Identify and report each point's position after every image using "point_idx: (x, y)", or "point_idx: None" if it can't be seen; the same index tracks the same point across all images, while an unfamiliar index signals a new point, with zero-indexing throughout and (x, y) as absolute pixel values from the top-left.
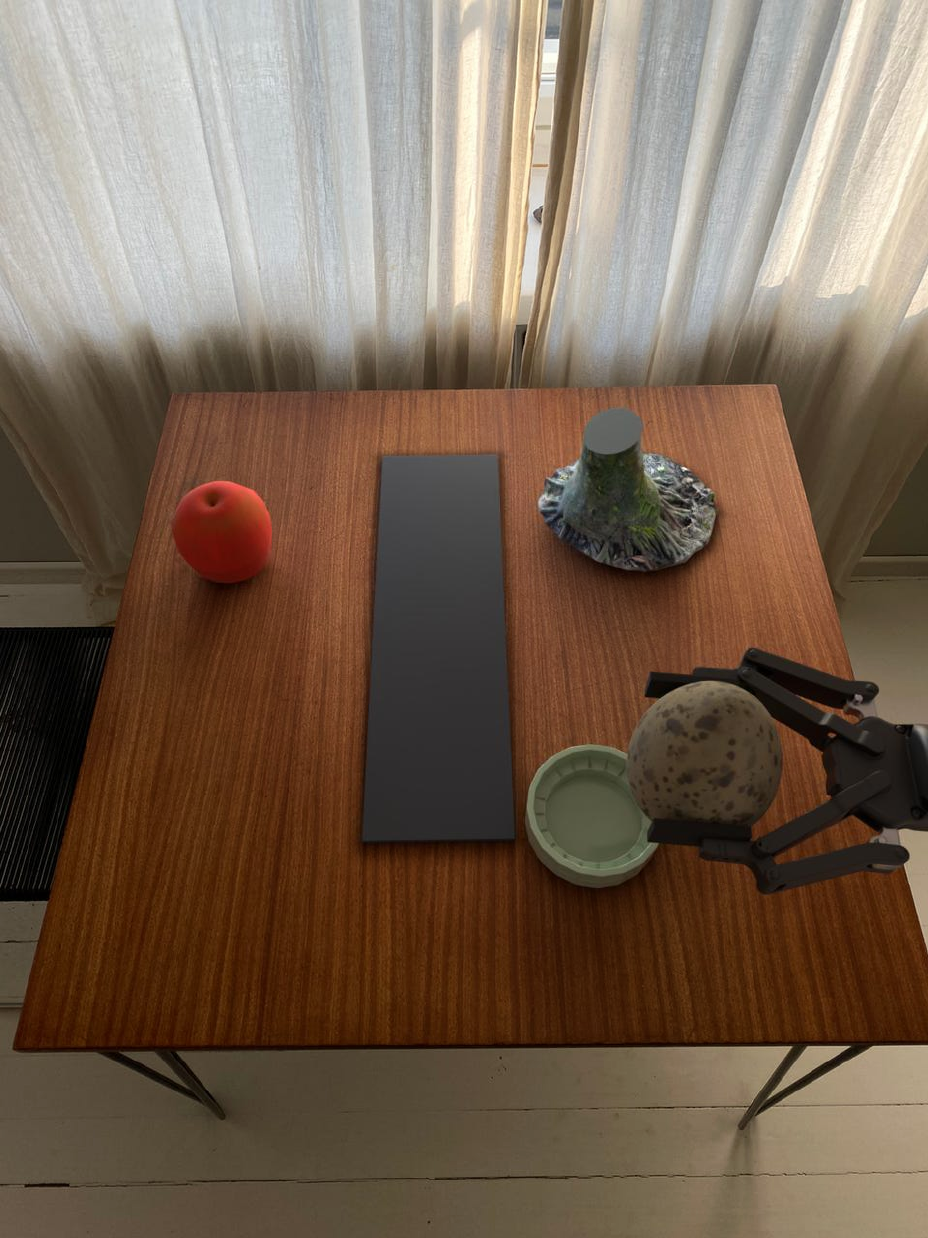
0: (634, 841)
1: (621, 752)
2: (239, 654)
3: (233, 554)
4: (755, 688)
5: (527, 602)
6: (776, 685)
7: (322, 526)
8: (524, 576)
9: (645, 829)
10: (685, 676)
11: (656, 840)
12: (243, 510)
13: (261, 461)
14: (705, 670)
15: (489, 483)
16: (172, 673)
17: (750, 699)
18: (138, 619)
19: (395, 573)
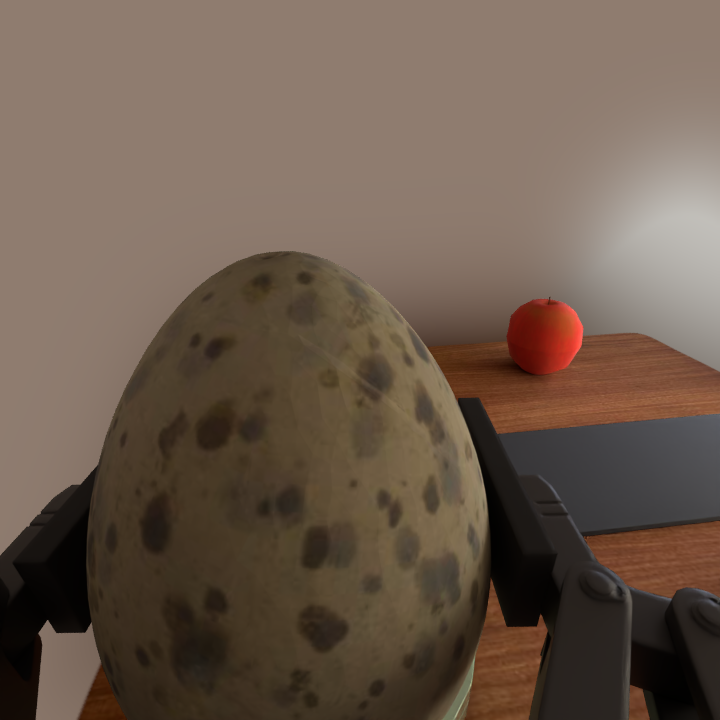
0: None
1: (471, 664)
2: (466, 380)
3: (522, 332)
4: (555, 623)
5: (669, 555)
6: (618, 714)
7: (607, 396)
8: (707, 549)
9: None
10: (494, 441)
11: None
12: (555, 315)
13: (634, 363)
14: (547, 496)
15: None
16: (439, 361)
17: (334, 320)
18: (468, 346)
19: (599, 436)
